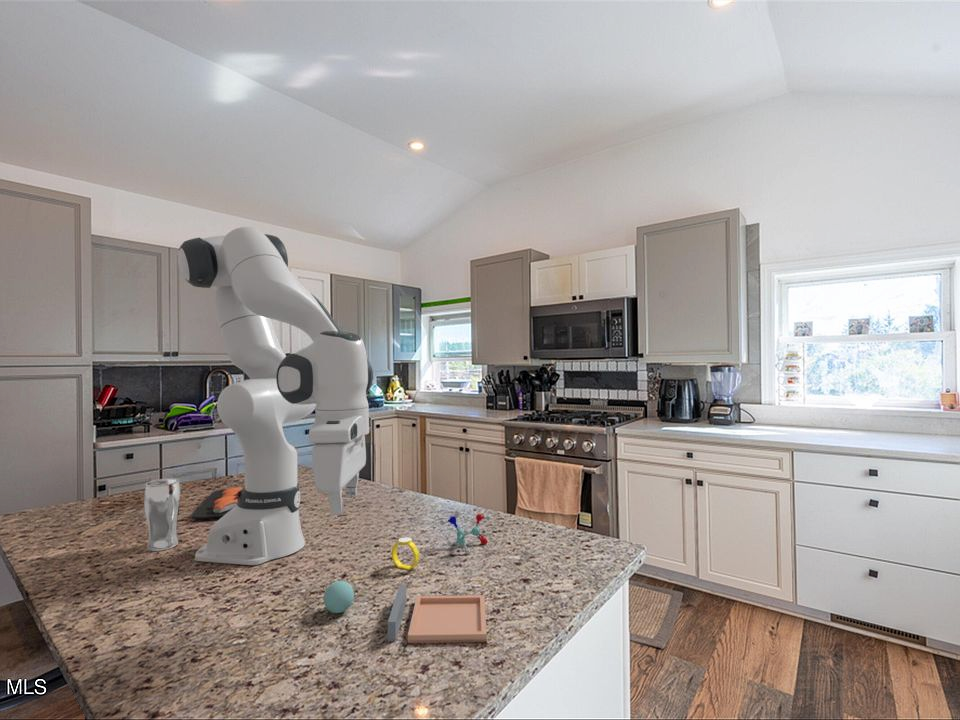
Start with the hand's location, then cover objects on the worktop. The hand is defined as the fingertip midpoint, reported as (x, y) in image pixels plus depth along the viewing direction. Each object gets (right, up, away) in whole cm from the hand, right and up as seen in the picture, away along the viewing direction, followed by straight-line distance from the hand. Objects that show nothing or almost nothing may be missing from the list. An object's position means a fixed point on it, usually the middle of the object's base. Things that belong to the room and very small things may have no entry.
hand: (344, 504), depth 82 cm
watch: (+8, -18, +17) cm, 26 cm away
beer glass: (-50, -19, +28) cm, 61 cm away
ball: (-1, -18, -1) cm, 18 cm away
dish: (+18, -18, -4) cm, 26 cm away
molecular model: (+20, -18, +28) cm, 39 cm away
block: (+10, -18, -3) cm, 21 cm away
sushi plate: (-44, -19, +63) cm, 79 cm away
